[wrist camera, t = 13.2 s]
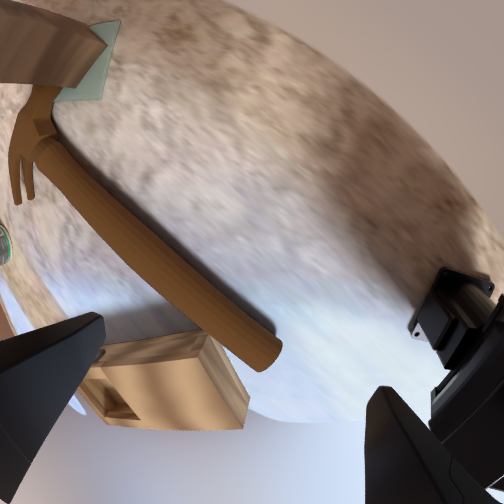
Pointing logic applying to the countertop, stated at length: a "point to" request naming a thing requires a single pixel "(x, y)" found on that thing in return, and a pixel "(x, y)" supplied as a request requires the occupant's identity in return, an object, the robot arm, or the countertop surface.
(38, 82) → the brown wooden block
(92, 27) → the rubber mat
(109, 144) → the countertop surface
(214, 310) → the hammer
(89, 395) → the slotted wooden slab
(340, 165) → the countertop surface
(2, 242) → the pill bottle
